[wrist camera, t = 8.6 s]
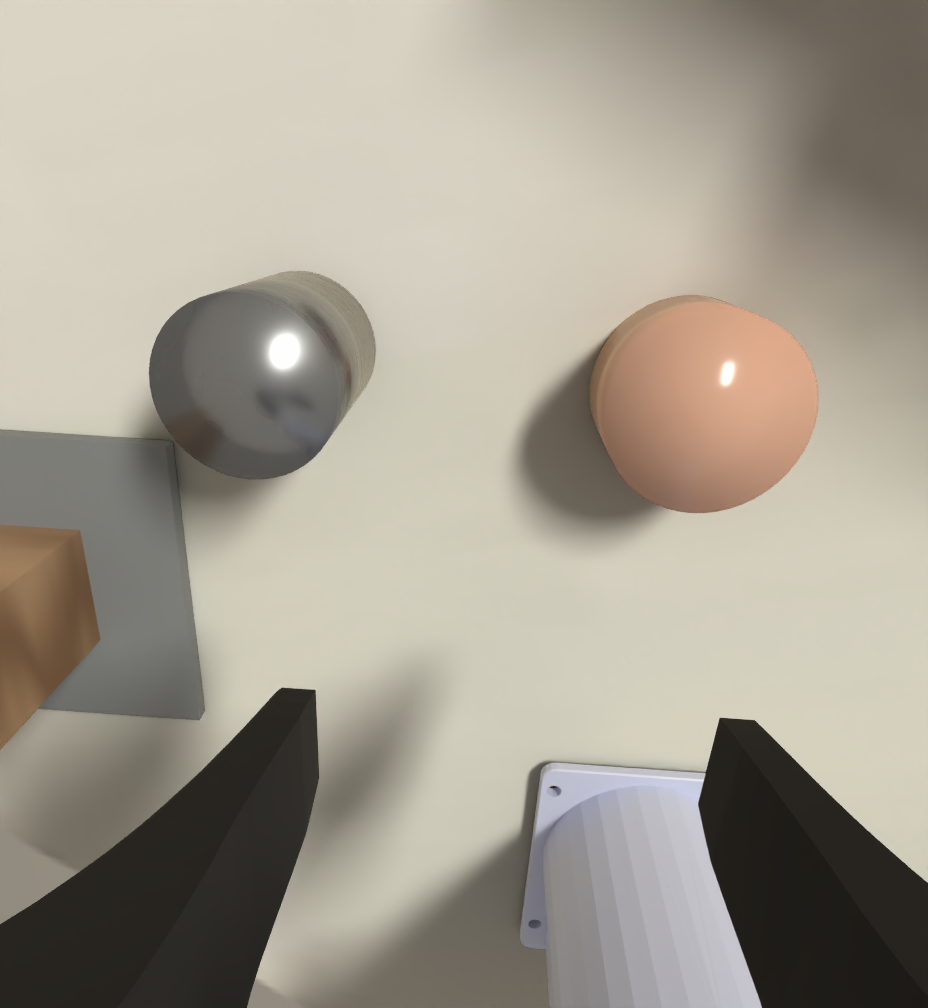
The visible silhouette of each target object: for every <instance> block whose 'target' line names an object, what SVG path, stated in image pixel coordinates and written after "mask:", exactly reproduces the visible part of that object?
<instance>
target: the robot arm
mask: <svg viewBox="0 0 928 1008" xmlns="http://www.w3.org/2000/svg"><path fill="white" fill-rule="evenodd" d="M318 780H319V764H318V740H317V716H316V691H315V690H307V689H292V688H281V689H280V690H278V691H277V692H276V693H275V694H274V695H273V696H272V697H271V698H270V699H269V701H268V702H267V703H266V704H265V705H264V706H263V707H262V708H261V709H260V711H259V712H258V713H257V714H256V715H255V716H254V717H253V718H252V719H251V720H250V721H249V723H248V724H247V725H246V726H245V727H244V728H243V729H242V730H241V731H240V732H239V733H238V734H237V735H236V736H235V737H234V738H233V739H232V741H231V742H230V743H229V744H228V745H227V746H226V747H225V748H224V749H223V750H222V751H221V752H220V753H219V754H218V755H217V756H216V757H215V758H214V759H213V760H212V761H211V762H210V763H209V764H208V765H207V766H206V767H205V768H204V769H203V770H202V771H201V772H199V773H198V774H197V775H196V776H195V777H194V778H193V779H192V780H191V781H190V782H189V783H188V784H187V785H185V786H184V787H183V788H182V789H181V790H180V791H179V792H178V793H177V794H176V795H175V796H173V797H172V798H171V799H170V800H169V801H168V802H167V803H166V804H165V805H164V806H162V807H161V808H160V809H159V810H158V811H157V812H156V813H154V814H153V815H152V816H151V817H150V818H149V819H147V820H146V821H145V822H144V823H143V824H141V825H140V826H139V827H138V828H137V829H135V830H134V831H133V832H132V833H130V834H129V835H128V836H127V837H125V838H124V839H123V840H122V841H120V842H119V843H118V844H116V845H115V846H114V847H113V848H111V849H110V850H109V851H108V852H106V853H105V854H104V855H102V856H101V857H100V858H98V859H97V860H95V861H94V862H93V863H91V864H90V865H88V866H87V867H86V868H84V869H83V870H82V871H80V872H79V873H77V874H76V875H75V876H73V877H72V878H70V879H69V880H67V881H66V882H65V883H63V884H61V885H60V886H59V887H57V888H56V889H54V890H53V891H52V892H50V893H48V894H47V895H46V896H44V897H43V898H41V899H40V900H38V901H37V902H35V903H34V904H32V905H31V906H29V907H27V908H26V909H24V910H23V911H21V912H19V913H18V914H16V915H15V916H13V917H11V918H10V919H8V920H7V921H5V922H3V923H2V924H0V1008H247V1005H248V1001H249V997H250V994H251V990H252V987H253V984H254V981H255V978H256V974H257V971H258V968H259V965H260V962H261V959H262V956H263V953H264V951H265V948H266V945H267V942H268V939H269V937H270V934H271V931H272V928H273V925H274V923H275V920H276V917H277V914H278V911H279V909H280V906H281V903H282V900H283V897H284V895H285V892H286V889H287V886H288V883H289V881H290V878H291V875H292V872H293V869H294V866H295V863H296V861H297V858H298V855H299V852H300V849H301V846H302V843H303V841H304V838H305V835H306V831H307V827H308V823H309V819H310V815H311V811H312V806H313V802H314V797H315V793H316V789H317V784H318ZM551 786H557V788H549V787H551ZM520 942H521V943H522V944H523V945H524V946H526V947H528V948H534V949H546V964H547V978H548V993H549V1007H550V1008H928V883H927V882H926V881H925V880H924V879H922V878H921V877H920V876H919V875H918V874H916V873H915V872H914V871H913V870H912V869H910V868H909V867H908V866H907V865H906V864H905V863H904V862H902V861H901V860H900V859H899V858H898V857H897V856H896V855H894V854H893V853H892V852H891V851H890V850H889V849H888V848H886V847H885V846H884V845H883V844H882V843H881V842H880V841H878V840H877V839H876V838H875V837H874V836H873V835H872V834H871V833H870V832H869V831H867V830H866V829H865V828H864V827H863V826H862V825H861V824H860V823H859V822H858V821H857V820H856V819H854V818H853V817H852V816H851V815H850V814H849V813H848V812H847V811H846V810H845V809H844V808H843V807H842V806H841V805H840V804H839V803H838V802H837V801H836V800H835V799H834V798H832V797H831V796H830V795H829V794H828V793H827V792H826V791H825V790H824V789H823V788H822V787H821V786H820V785H819V784H818V783H817V782H816V781H815V780H814V779H813V778H812V777H811V776H810V775H809V774H808V773H807V772H806V771H805V770H804V769H803V768H802V767H801V766H800V765H799V764H798V763H797V762H796V761H795V760H794V759H793V758H792V757H791V756H790V755H789V754H788V753H787V752H786V751H785V750H784V749H783V748H782V747H781V746H780V745H779V744H778V743H777V742H776V741H775V740H774V739H773V738H772V737H771V736H770V735H769V734H768V733H767V732H766V731H765V730H764V729H763V728H762V727H761V726H760V725H759V724H758V723H757V722H756V721H755V720H743V719H729V718H720V719H719V723H718V727H717V731H716V735H715V739H714V743H713V747H712V751H711V754H710V758H709V762H708V766H707V770H706V773H695V772H681V771H667V770H653V769H639V768H625V767H611V766H597V765H583V764H569V763H550V764H547V765H545V766H544V767H543V768H542V770H541V773H540V781H539V789H538V796H537V804H536V811H535V819H534V827H533V834H532V842H531V850H530V857H529V865H528V873H527V880H526V888H525V895H524V903H523V911H522V918H521V926H520Z"/></svg>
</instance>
